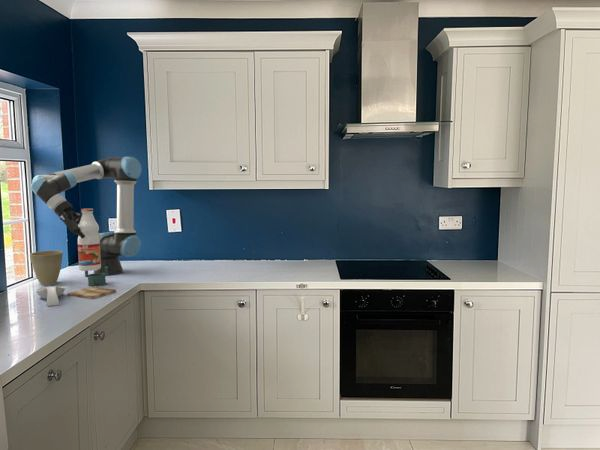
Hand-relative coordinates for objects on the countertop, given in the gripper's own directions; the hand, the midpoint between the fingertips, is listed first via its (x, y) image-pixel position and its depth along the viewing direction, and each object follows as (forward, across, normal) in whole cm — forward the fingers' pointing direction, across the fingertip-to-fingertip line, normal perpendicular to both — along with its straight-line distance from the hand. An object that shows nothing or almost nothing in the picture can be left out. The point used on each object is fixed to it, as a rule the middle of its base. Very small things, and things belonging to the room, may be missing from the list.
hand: (95, 240), depth 221 cm
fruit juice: (+7, 0, -12) cm, 14 cm away
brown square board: (+16, 0, -20) cm, 25 cm away
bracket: (+11, -18, -25) cm, 33 cm away
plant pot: (-8, -19, -43) cm, 48 cm away
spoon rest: (+7, +11, -29) cm, 32 cm away
